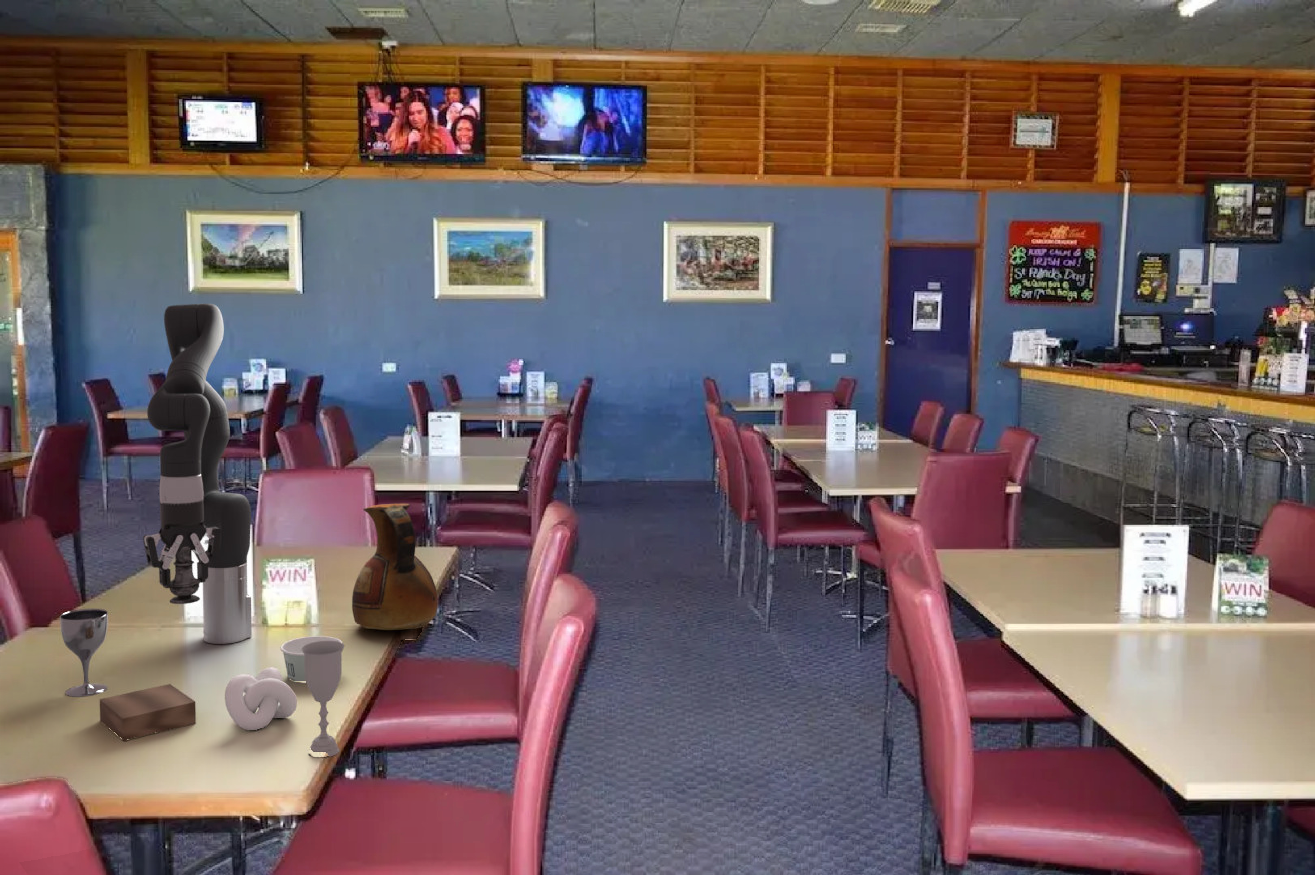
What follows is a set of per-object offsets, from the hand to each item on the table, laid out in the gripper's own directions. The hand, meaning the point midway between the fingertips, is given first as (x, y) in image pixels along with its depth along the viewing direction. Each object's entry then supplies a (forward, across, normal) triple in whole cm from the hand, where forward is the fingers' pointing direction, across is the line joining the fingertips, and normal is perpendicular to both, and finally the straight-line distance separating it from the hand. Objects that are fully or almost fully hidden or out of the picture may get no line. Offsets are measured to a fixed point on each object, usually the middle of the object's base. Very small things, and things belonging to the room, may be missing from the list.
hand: (184, 584), depth 195 cm
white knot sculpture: (+21, -3, +25) cm, 33 cm away
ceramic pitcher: (+22, -52, -10) cm, 57 cm away
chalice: (+21, -6, +44) cm, 49 cm away
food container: (+21, -22, +8) cm, 32 cm away
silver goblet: (+21, +14, -12) cm, 28 cm away
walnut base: (+21, +11, +12) cm, 27 cm away
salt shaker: (+3, 0, 0) cm, 3 cm away
